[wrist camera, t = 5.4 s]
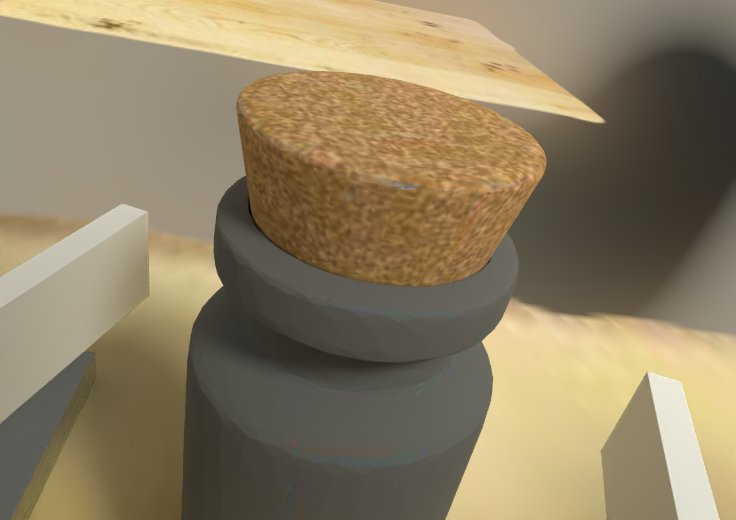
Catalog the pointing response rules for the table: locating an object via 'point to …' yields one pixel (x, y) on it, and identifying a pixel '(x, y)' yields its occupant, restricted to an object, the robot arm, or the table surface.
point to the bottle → (352, 301)
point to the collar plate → (40, 436)
